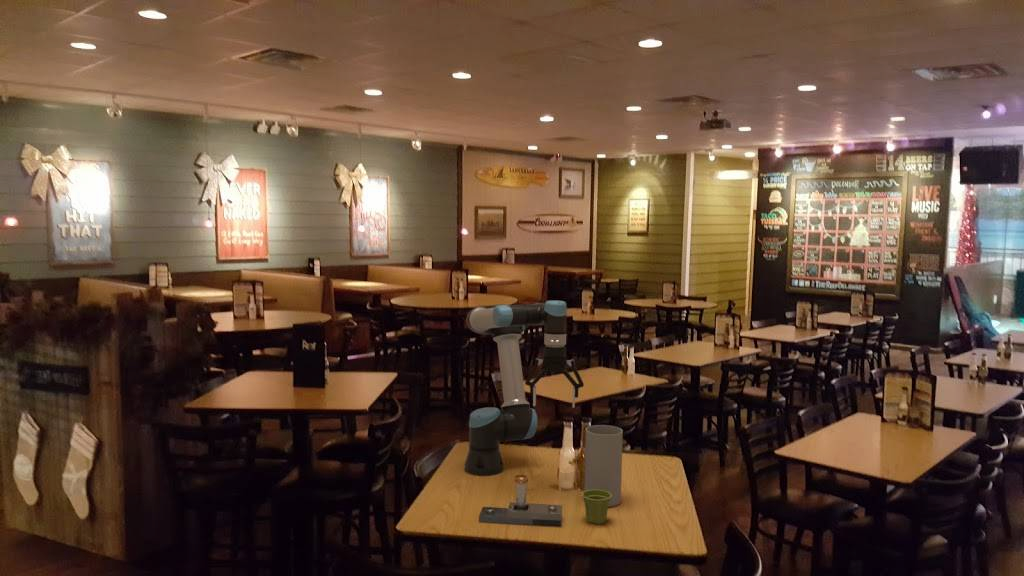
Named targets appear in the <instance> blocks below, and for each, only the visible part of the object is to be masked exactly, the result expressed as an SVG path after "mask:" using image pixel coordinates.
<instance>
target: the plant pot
mask: <svg viewBox="0 0 1024 576" xmlns="http://www.w3.org/2000/svg"><path fill="white" fill-rule="evenodd" d="M611 496H612V495H611V494H610V493H609V492H607V491H604V490H587V491H583V492H581V497H582V499H583V502H584V508H585V515H586V516H585V517H586V521H587V522H588V523H589V524H592V523H593V524H594V525H602V524H604V523H605V522H606V521H607V516H608V511H609V510H608V508H609V507H608V504H609V501H610V498H611Z"/></svg>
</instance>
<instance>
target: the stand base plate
mask: <svg viewBox="0 0 1024 576" xmlns="http://www.w3.org/2000/svg"><path fill="white" fill-rule="evenodd" d="M562 519H563V504H551V503H532V502H531V503H530V502H526V510H516V501H514V502H512V501H511V502H509V504H508V507H494V506H482V508H481V511H480V513H479V515H478V523H485V524H486V523H488V524H503V525H504V524H507V525H520V526H521V525H524V526H538V527H539V526H540V527H559V528H561V527H562V521H563V520H562Z"/></svg>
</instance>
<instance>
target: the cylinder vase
mask: <svg viewBox="0 0 1024 576" xmlns="http://www.w3.org/2000/svg"><path fill="white" fill-rule="evenodd" d="M623 431H624V430H623V429H622V428H621V427H617V426H615V425H607V424H598V425H597V424H596V425H590V426H588V427H586V428H585V441H584V443H585V445H584V447H585V449H584V450H585V451H584V485H583V486H584V487H583V489H584V491H587V490H604V491H607V492H609V493H610V494H611V495H612V496H611V498H610V501H609V504H608V508H610V507H612V508H613V507H616V506H618V505H620V503H621V500H622V474H623V472H622V471H623V470H622V469H623V468H622V467H623V463H622V462H623V437H624V436H623V434H624V433H623ZM584 491H583V492H584Z"/></svg>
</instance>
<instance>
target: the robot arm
mask: <svg viewBox="0 0 1024 576" xmlns="http://www.w3.org/2000/svg"><path fill="white" fill-rule="evenodd" d="M567 315H568V310H567V303H566V301H565V300H564V301H563V300H557V299H556V300H546V302H545V303H544V302H536V303H533V304H532V303H531V304H529V303H528V304H526V303H525V304H497V305H479V306H477V307H476V306H475V307H474V308H472V309H470V311H469V312H468V314H467V316H466V323H467V324H466V325H467V326H468V328H469V330H470V331H472V332H474V333H476V334H479V335H492V340H493V341H494V342H495V343H497V352H498V353H497V354H498V361H499V370H500V377H501V378H500V379H501V386H502V388H501V390H502V394H503V395H502V396H503V403H502V404H501V406H500V409H499V408H497V407H493V406H492V407H482V408H478V409H477V408H476V409H475V410H473V411H472V412H471V413H470V415H469V422H468V426H469V427H468V428H469V436H468V438H469V439H468V441H469V443H468V444H469V445H468V447H469V448H468V452H467V455H466V458H465V462H464V471H465V472H466V473H468V474H470V475H474V476H493V475H498V474H500V473H503V471H504V468H505V467H504V461H503V458H502V455H501V451H500V442H511V441H512V442H513V441H524V440H527V439H531V438H533V437H534V435H535V434H536V431H537V428H538V415H537V413H536V410H535V409H533V408H531V403H530V402H529V401H527V399H526V393H525V386H528V387H529V388H530V389H529V395H530V397H532V399H533V400H532V401H533V402H532V407H536V405H537V386H536V384H537V383H538V382H540V380H541V379H542V378H543V376H545V374H546V373H547V372H549V373H557V374H559V373H562V374H563V375H564V376H565V377H566V379H567V380H568V381H569V382H570V384H571V385H572V386H573V387H572V406H571V407H572V408H575V405H576V398H578V397H579V389H580V388H583V387H584V386H585V385H584V382H583V379H582V377H581V375H580V373H579V371H578V369H577V367H576V362H575V359H573V358H572V359H570V360H569V359H568V360H567V347H566V345H567V319H568V318H567V317H568V316H567ZM526 326H528V327H529V326H544V335H543V336H544V337H543V338H544V339H543V340H544V342H543V345H544V347H543V358H542V359H540V358H538V357H536V358H535V360H534V365H533V367H532V369H531V370H530V373H529V374H528V376H527V378H526V380H525V382H524V375H523V369H522V360H521V358H522V357H521V353H520V342H519V340H520V339H521V338H522V333H524V332H525V329H526ZM541 364H542V365H543V366H544V368H543V369H542V370H541V371H540V373H538V375H537V376H536V377H534V374H535V373H536V370H537V369H538V366H541ZM567 365H568V366H569V367H571V370H572V372H573V374H574V375H575V378H576V380H577V381H576V380H575V379H574V378H573V376H572V375H571V374H570V373H569V371H568V370H567V369H566V368H565V367H566V366H567ZM533 377H534V379H533V380H532V378H533ZM531 380H532V382H531ZM577 382H578V383H577ZM524 384H525V385H524Z"/></svg>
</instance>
